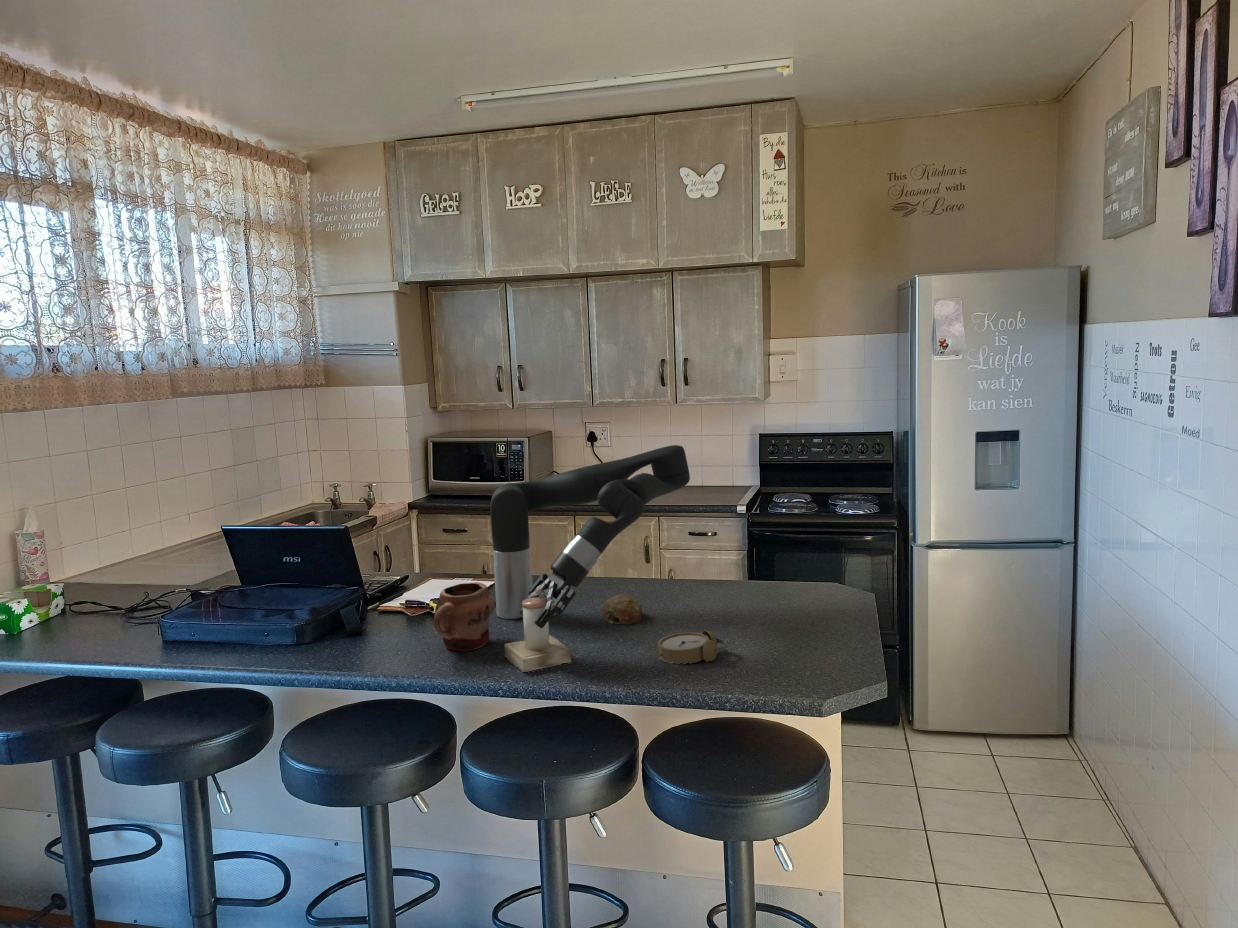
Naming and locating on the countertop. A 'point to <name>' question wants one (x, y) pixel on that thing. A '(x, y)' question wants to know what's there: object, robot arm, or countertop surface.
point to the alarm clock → (690, 647)
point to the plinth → (537, 655)
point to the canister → (532, 633)
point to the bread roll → (622, 610)
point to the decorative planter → (464, 616)
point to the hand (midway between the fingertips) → (530, 620)
